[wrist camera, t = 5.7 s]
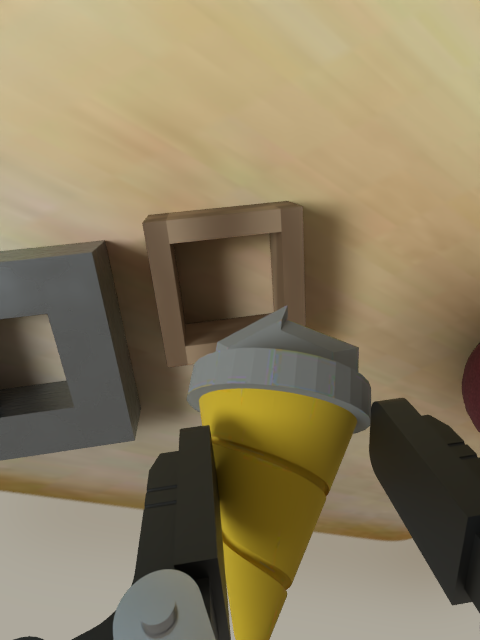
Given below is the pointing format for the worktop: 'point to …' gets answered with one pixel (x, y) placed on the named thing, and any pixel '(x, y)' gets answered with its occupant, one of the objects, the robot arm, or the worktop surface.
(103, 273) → the hub plate
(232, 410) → the drill bit
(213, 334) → the wooden square frame
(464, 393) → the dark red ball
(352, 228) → the worktop surface
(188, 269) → the worktop surface
